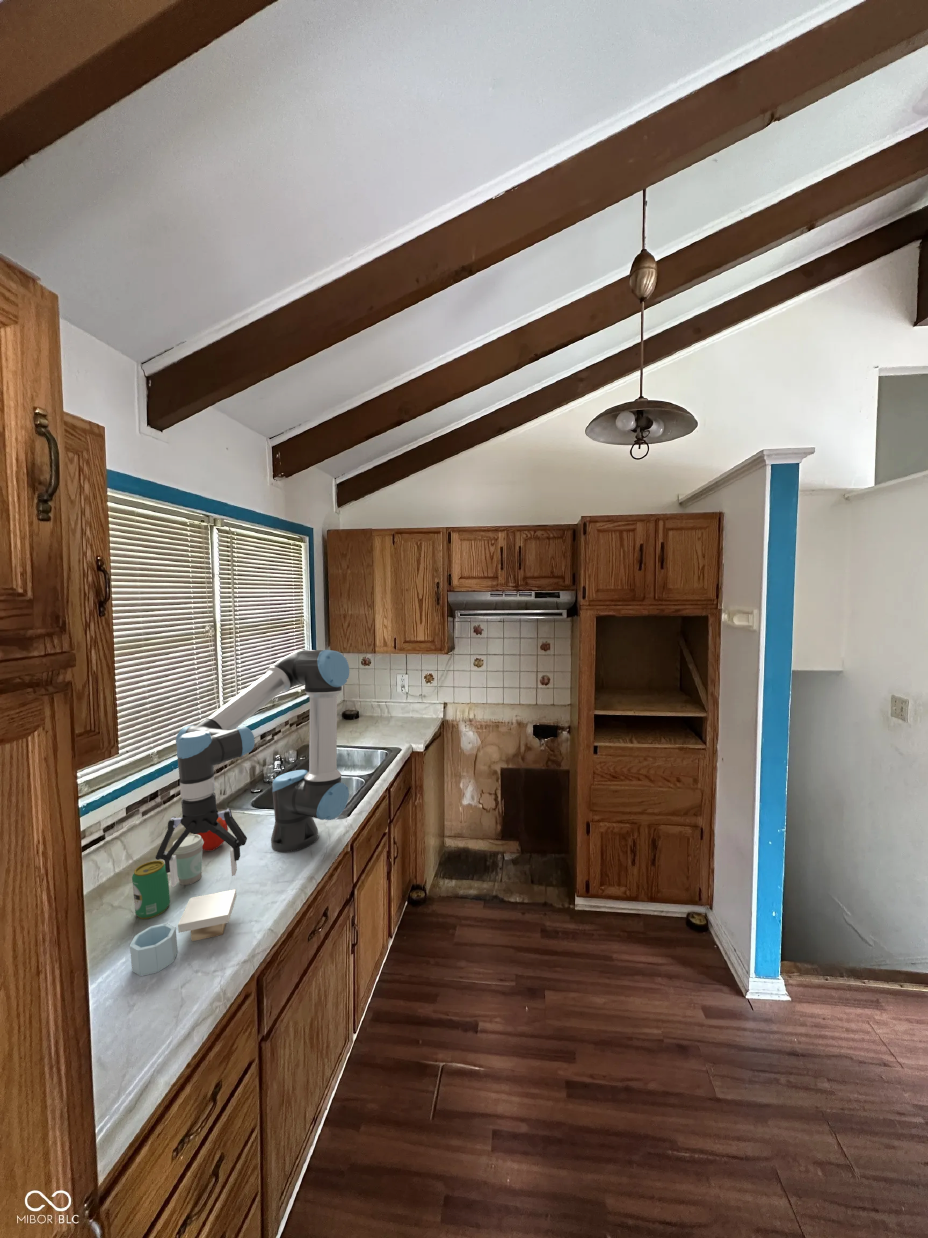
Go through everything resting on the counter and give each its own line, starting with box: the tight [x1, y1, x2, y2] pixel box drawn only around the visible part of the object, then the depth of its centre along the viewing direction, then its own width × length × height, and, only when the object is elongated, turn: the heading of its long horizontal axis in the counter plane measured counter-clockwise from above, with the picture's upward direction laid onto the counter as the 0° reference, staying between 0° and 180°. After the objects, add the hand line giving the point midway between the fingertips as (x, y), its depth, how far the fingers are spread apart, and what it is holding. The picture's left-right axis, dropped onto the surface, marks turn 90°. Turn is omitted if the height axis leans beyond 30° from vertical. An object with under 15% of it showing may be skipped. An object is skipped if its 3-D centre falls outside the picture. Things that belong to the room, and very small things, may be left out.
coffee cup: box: [171, 834, 204, 886], centre depth 149 cm, size 8×8×12 cm
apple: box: [197, 817, 229, 852], centre depth 168 cm, size 10×10×12 cm
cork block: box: [190, 923, 227, 942], centre depth 126 cm, size 7×7×4 cm
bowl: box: [129, 922, 179, 977], centre depth 115 cm, size 8×8×6 cm
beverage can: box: [131, 859, 171, 920], centre depth 135 cm, size 8×8×12 cm
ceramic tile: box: [177, 888, 238, 934], centre depth 126 cm, size 11×11×2 cm
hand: (205, 878), depth 125 cm, fingers open, 13 cm apart
